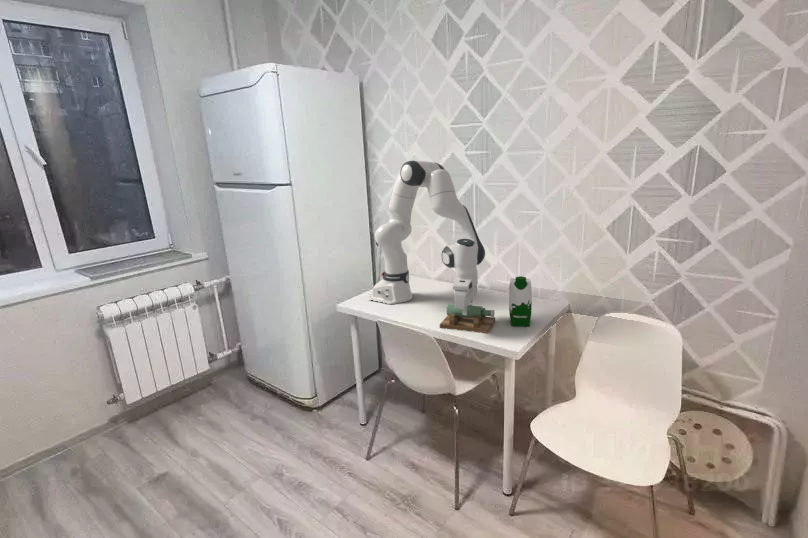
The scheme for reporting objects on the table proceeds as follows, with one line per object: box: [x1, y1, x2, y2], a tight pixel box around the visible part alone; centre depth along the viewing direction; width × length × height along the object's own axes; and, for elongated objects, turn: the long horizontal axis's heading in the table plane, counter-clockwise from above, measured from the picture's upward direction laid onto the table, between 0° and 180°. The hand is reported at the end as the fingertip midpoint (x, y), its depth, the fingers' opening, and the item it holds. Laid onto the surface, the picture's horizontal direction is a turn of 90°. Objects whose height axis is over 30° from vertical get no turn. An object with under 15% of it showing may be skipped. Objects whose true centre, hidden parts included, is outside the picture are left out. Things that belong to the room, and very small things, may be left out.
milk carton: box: [508, 275, 533, 328], centre depth 168 cm, size 9×9×20 cm
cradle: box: [439, 307, 496, 334], centre depth 172 cm, size 13×20×6 cm, turn 66°
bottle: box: [446, 303, 496, 319], centre depth 171 cm, size 19×5×5 cm
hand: (467, 311), depth 171 cm, fingers closed on bottle, 5 cm apart
